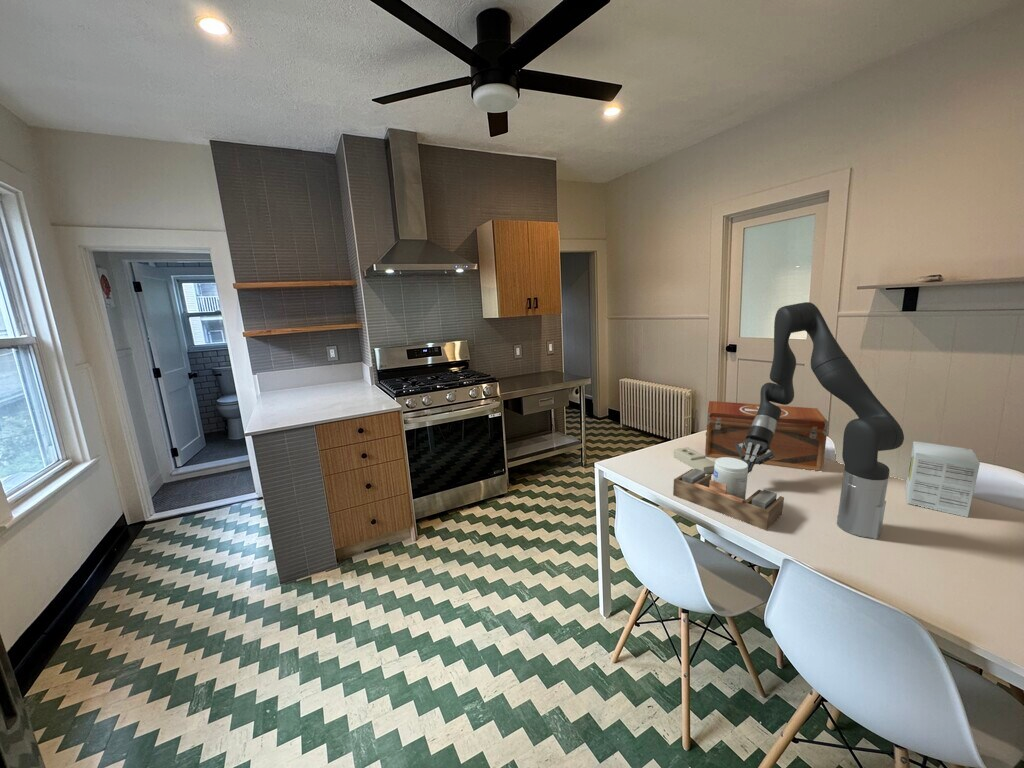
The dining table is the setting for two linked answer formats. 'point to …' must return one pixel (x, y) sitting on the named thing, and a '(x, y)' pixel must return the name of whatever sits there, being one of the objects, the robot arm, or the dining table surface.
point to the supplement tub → (732, 475)
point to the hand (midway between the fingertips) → (745, 471)
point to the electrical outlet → (694, 459)
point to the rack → (729, 499)
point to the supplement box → (942, 477)
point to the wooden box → (791, 443)
